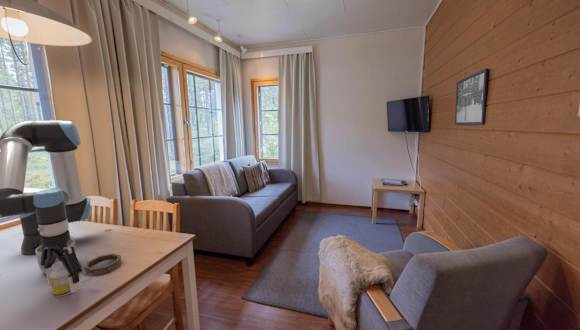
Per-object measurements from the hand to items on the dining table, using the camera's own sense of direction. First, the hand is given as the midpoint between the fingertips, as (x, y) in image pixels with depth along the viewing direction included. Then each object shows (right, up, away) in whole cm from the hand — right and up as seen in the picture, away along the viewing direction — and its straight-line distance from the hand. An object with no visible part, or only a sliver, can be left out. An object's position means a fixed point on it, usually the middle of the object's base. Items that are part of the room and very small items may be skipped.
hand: (64, 286), depth 91 cm
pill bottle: (0, -2, 0) cm, 2 cm away
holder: (+2, +1, +16) cm, 16 cm away
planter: (-16, 0, +15) cm, 22 cm away
